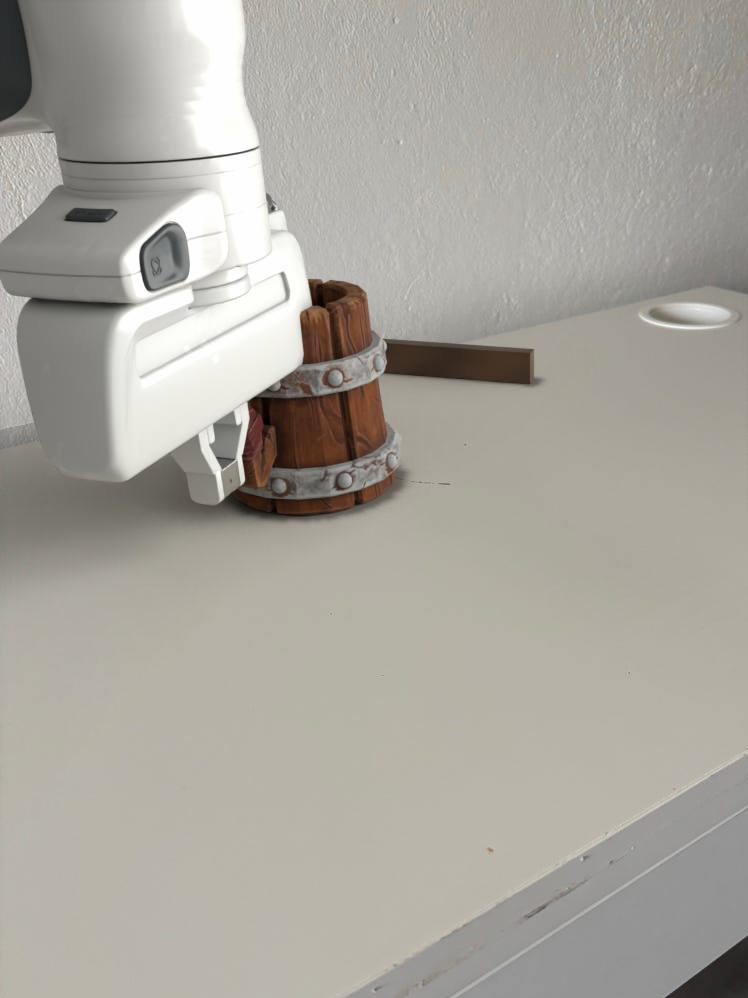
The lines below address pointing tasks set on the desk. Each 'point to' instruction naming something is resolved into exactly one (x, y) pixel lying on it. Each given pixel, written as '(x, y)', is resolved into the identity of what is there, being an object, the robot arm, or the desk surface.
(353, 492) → the mug
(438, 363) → the rail
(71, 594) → the desk surface
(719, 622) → the desk surface
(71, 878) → the desk surface
